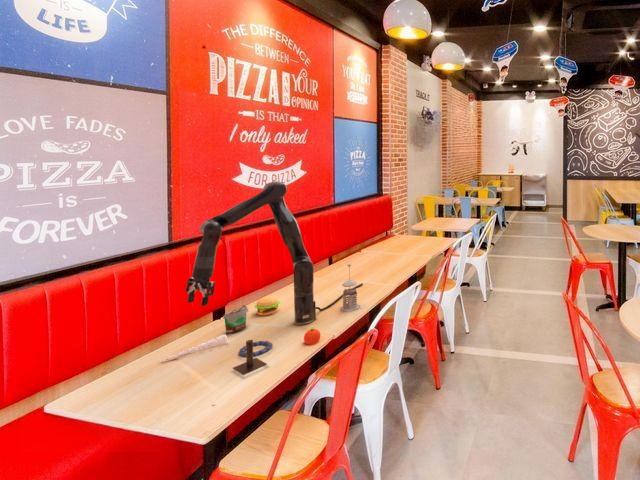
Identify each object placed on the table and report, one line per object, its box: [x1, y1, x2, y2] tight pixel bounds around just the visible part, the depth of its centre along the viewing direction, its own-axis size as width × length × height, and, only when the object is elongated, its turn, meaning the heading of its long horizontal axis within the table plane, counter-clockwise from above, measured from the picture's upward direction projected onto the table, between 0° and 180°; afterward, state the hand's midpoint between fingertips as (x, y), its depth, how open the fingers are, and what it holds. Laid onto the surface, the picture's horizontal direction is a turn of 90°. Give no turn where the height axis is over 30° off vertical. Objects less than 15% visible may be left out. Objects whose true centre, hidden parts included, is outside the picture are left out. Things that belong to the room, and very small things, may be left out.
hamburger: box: [254, 295, 281, 316], centre depth 212 cm, size 12×12×9 cm
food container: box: [222, 304, 249, 335], centre depth 191 cm, size 12×6×10 cm, turn 168°
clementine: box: [303, 327, 321, 345], centre depth 175 cm, size 8×7×7 cm
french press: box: [340, 263, 360, 312], centre depth 215 cm, size 10×12×25 cm
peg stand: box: [232, 339, 268, 376], centre depth 154 cm, size 9×9×12 cm
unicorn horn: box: [159, 334, 228, 363], centre depth 168 cm, size 5×24×5 cm, turn 127°
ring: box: [238, 340, 273, 359], centre depth 168 cm, size 13×13×3 cm
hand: (197, 304), depth 168 cm, fingers open, 8 cm apart
